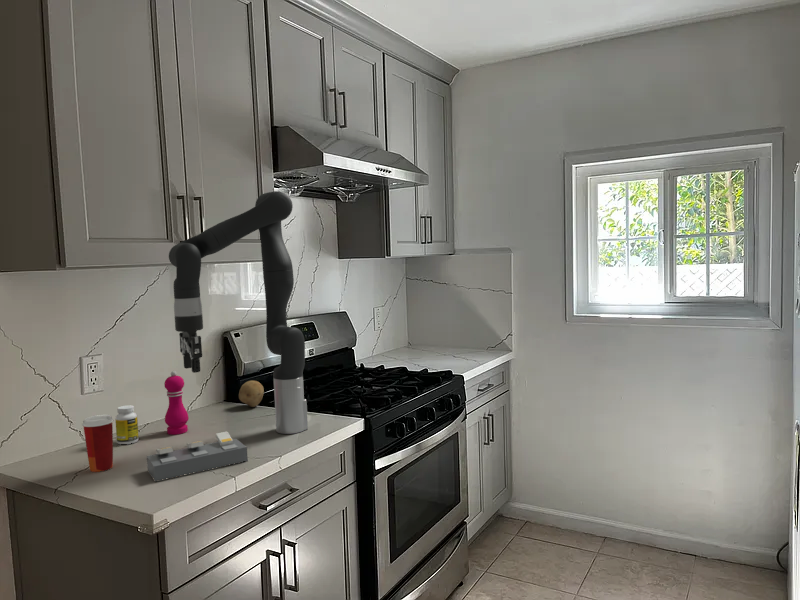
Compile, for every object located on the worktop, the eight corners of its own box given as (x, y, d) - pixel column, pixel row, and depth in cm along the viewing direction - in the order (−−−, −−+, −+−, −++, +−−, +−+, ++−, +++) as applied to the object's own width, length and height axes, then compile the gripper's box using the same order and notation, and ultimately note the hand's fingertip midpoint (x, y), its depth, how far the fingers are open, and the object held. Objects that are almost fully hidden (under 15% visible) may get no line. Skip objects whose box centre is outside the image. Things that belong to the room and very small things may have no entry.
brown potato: (247, 411, 220) (246, 384, 219) (234, 407, 226) (233, 381, 225) (269, 406, 226) (267, 379, 226) (255, 402, 233) (254, 377, 232)
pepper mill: (164, 436, 193) (160, 374, 191) (166, 430, 200) (162, 370, 198) (188, 433, 195) (184, 372, 193) (190, 427, 202) (186, 368, 200)
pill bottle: (130, 445, 185) (128, 409, 184) (112, 444, 186) (109, 409, 185) (143, 439, 191) (140, 404, 190) (125, 438, 192) (123, 404, 191)
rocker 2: (227, 435, 173) (227, 431, 173) (232, 444, 169) (233, 440, 169) (215, 437, 172) (215, 433, 171) (221, 446, 168) (221, 442, 167)
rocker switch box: (236, 451, 175) (235, 437, 175) (247, 461, 167) (246, 445, 167) (147, 470, 163) (146, 454, 162) (155, 481, 154) (154, 465, 154)
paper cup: (121, 462, 170) (118, 413, 168) (109, 472, 162) (105, 421, 161) (93, 464, 169) (89, 414, 168) (79, 474, 162) (75, 422, 161)
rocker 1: (168, 451, 165) (168, 446, 165) (172, 451, 160) (172, 446, 161) (156, 454, 163) (155, 449, 163) (160, 454, 159) (159, 449, 159)
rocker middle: (199, 445, 169) (198, 441, 169) (203, 445, 165) (203, 440, 165) (187, 448, 167) (186, 443, 167) (191, 447, 163) (191, 443, 163)
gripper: (209, 314, 170) (212, 372, 171) (194, 311, 182) (198, 364, 183) (181, 316, 166) (185, 375, 167) (168, 313, 177) (172, 368, 179)
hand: (192, 370), depth 175 cm, fingers open, 8 cm apart
